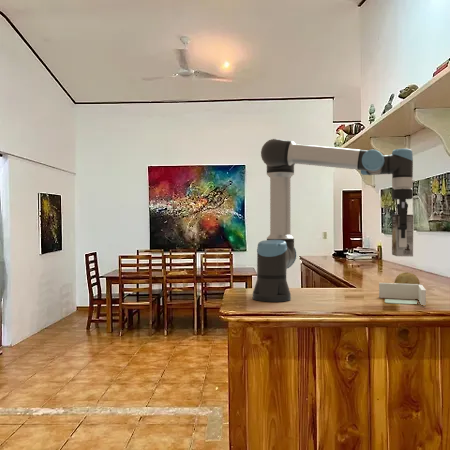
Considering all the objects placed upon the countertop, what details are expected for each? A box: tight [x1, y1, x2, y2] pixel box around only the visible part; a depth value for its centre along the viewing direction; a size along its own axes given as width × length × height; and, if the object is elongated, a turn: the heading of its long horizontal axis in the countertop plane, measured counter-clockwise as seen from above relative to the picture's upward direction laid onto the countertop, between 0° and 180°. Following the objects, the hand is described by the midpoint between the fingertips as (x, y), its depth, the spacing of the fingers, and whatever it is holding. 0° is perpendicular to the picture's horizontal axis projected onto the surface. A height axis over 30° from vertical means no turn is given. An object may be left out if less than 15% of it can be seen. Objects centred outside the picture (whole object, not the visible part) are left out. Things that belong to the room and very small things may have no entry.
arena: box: [378, 282, 427, 306], centre depth 190 cm, size 16×18×6 cm
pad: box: [384, 298, 418, 305], centre depth 188 cm, size 12×9×1 cm
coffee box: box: [391, 214, 414, 257], centre depth 188 cm, size 9×6×16 cm
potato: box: [394, 272, 421, 285], centre depth 206 cm, size 10×12×10 cm
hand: (402, 246), depth 188 cm, fingers closed on coffee box, 10 cm apart
